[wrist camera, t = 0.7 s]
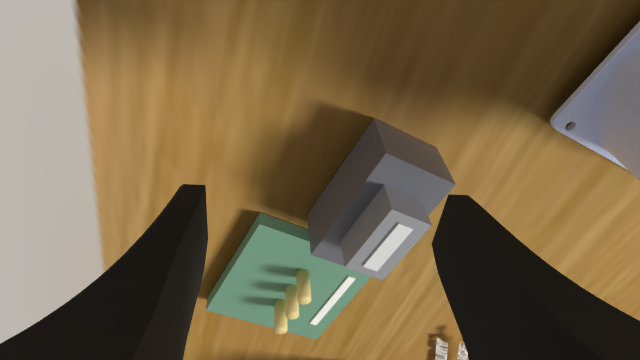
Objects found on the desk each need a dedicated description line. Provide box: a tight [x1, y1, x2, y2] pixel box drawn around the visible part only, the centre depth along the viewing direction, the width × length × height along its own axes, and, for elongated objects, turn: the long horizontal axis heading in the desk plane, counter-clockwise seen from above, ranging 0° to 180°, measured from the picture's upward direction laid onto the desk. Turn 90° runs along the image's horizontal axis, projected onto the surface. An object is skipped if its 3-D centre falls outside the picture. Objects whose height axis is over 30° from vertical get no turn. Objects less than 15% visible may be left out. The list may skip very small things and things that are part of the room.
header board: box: [206, 213, 371, 340], centre depth 28 cm, size 8×8×3 cm
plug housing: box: [307, 118, 456, 280], centre depth 23 cm, size 4×7×5 cm, turn 151°
